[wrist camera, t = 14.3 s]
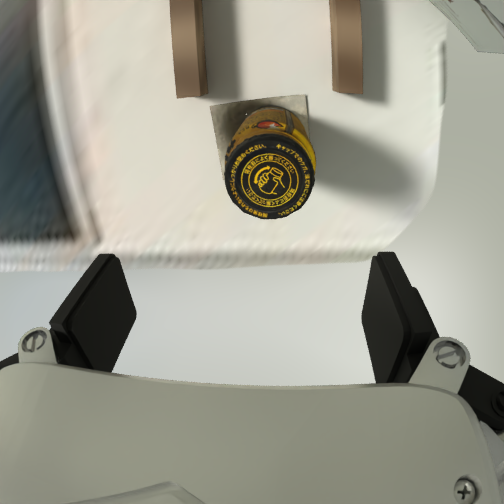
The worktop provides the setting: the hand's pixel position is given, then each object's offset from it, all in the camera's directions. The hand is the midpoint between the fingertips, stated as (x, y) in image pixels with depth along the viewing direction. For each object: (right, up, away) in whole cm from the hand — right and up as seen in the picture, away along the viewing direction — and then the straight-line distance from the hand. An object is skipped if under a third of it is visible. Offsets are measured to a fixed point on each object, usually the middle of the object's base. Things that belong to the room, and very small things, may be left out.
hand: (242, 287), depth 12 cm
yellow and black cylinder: (+1, +12, +17) cm, 21 cm away
